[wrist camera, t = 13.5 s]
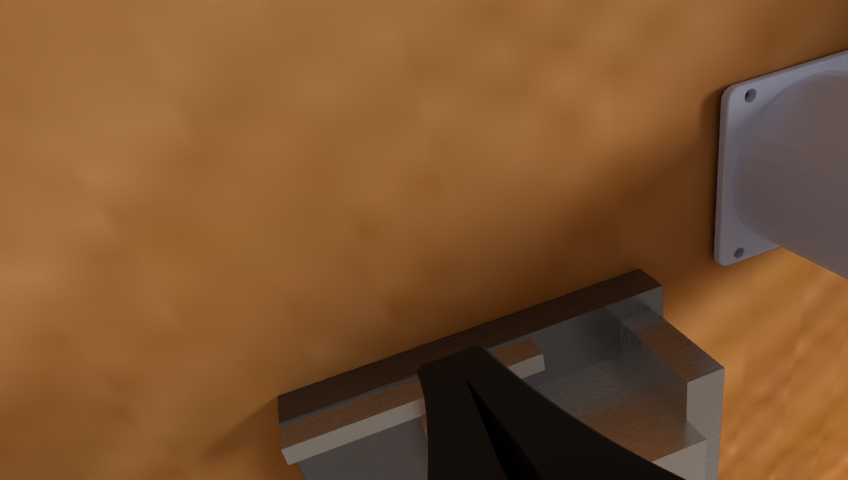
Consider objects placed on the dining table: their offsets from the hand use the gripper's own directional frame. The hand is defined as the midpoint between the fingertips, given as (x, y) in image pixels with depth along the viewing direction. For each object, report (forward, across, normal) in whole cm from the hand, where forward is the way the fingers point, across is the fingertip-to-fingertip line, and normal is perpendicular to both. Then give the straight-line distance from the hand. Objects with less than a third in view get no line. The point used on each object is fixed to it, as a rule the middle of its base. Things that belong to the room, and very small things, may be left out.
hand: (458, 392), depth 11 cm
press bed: (+9, -2, +11) cm, 15 cm away
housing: (+8, -6, +11) cm, 15 cm away
